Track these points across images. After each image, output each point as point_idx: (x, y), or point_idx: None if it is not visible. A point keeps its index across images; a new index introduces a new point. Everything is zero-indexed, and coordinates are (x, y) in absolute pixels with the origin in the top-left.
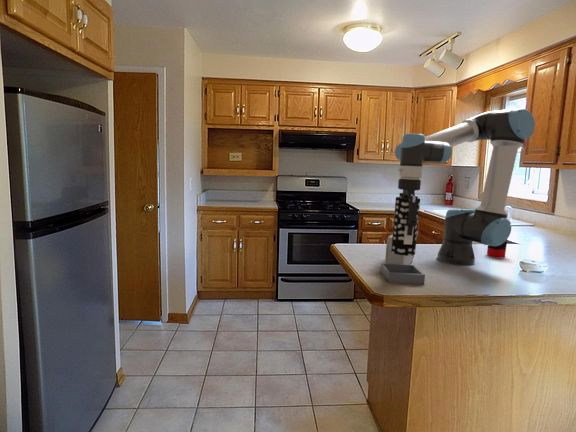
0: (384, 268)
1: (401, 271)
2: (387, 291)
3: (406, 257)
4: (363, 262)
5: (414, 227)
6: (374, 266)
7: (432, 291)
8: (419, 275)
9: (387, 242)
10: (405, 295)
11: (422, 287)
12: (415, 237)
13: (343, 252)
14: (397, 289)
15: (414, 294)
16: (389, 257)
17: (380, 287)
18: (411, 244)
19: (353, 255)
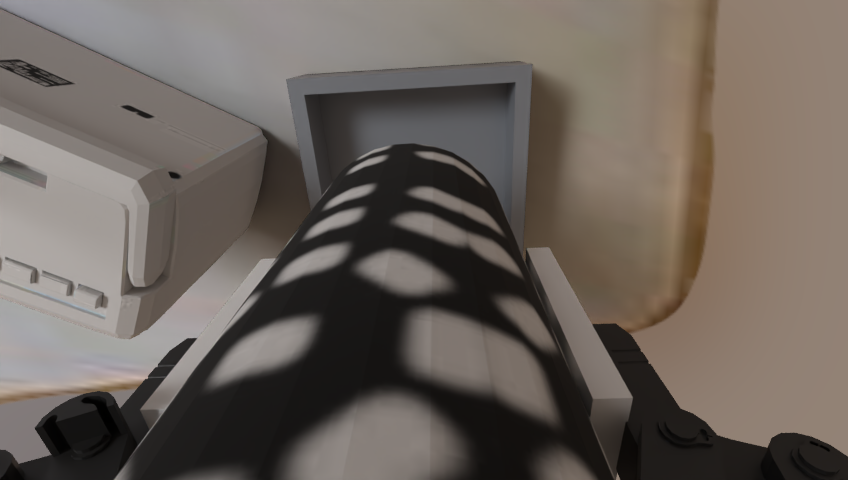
0: None
1: (327, 156)
2: (633, 277)
3: (157, 110)
4: (176, 313)
5: (558, 347)
6: (232, 272)
7: (642, 45)
8: (529, 103)
9: (162, 313)
10: (691, 211)
11: (573, 88)
12: (495, 230)
13: (20, 380)
14: (606, 229)
15: (682, 164)
16: (228, 238)
17: (579, 296)
18: (548, 251)
19: (53, 343)
